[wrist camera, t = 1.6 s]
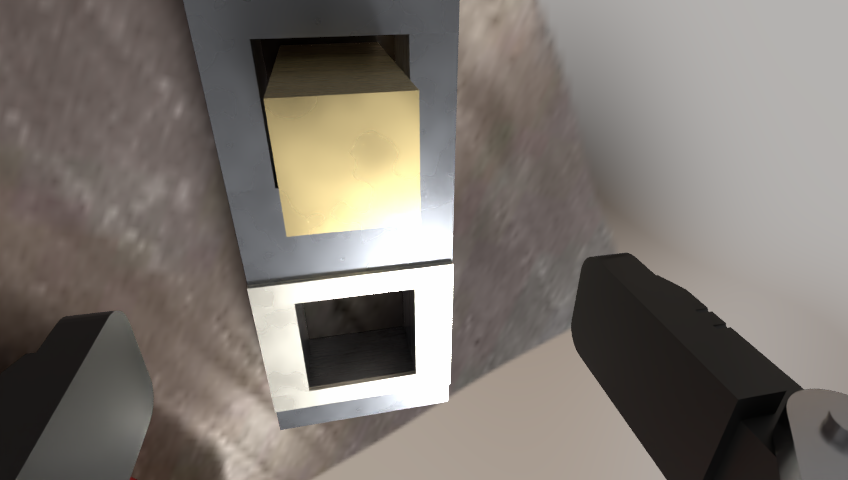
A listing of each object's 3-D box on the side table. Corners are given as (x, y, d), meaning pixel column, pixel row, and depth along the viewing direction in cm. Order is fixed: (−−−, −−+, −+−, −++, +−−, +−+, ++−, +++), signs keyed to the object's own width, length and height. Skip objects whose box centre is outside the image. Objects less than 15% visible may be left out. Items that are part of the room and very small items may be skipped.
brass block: (280, 45, 22) (263, 98, 13) (377, 42, 23) (419, 90, 14) (293, 140, 24) (286, 236, 16) (381, 133, 25) (420, 223, 16)
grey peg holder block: (193, -53, 20) (168, -56, 16) (436, -53, 21) (463, -56, 18) (283, 379, 31) (280, 434, 28) (433, 356, 33) (449, 405, 30)
